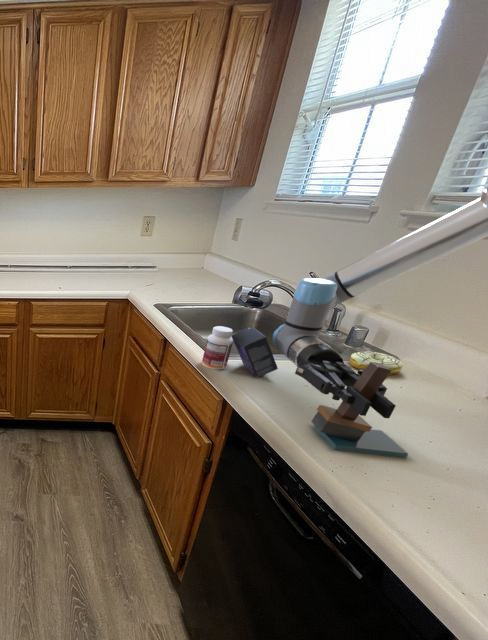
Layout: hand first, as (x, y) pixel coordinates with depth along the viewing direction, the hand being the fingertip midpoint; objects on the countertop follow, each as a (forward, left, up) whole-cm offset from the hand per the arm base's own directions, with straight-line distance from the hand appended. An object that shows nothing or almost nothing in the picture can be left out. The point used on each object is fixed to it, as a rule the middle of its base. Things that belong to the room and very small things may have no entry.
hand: (377, 410), depth 74 cm
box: (+4, -38, -9) cm, 39 cm away
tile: (-3, -5, -11) cm, 12 cm away
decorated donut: (-28, -47, -11) cm, 56 cm away
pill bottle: (+15, -39, -11) cm, 43 cm away
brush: (+2, -6, -8) cm, 10 cm away
